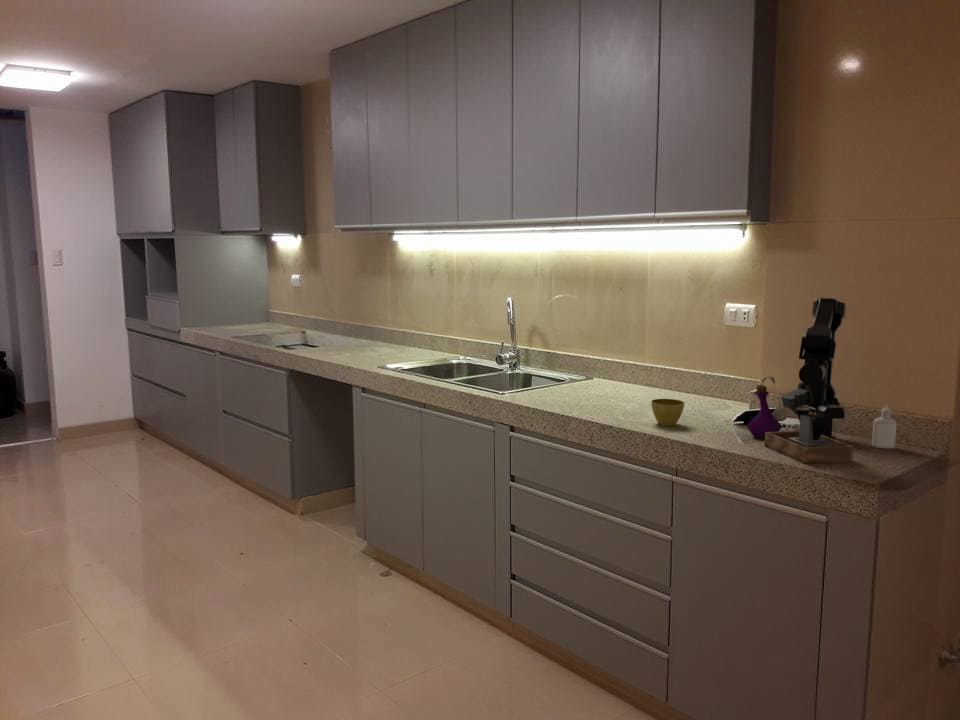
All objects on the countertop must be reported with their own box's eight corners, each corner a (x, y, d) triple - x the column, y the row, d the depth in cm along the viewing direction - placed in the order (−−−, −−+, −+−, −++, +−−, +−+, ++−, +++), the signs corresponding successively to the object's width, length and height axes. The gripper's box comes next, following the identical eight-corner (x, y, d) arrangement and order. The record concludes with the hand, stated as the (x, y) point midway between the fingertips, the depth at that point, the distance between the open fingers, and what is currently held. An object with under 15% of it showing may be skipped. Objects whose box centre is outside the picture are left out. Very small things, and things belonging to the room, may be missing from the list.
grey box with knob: (798, 443, 208) (800, 411, 207) (811, 443, 209) (814, 410, 208) (807, 447, 204) (810, 414, 203) (821, 447, 205) (823, 413, 204)
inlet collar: (787, 448, 210) (787, 437, 209) (813, 447, 212) (814, 436, 211) (805, 456, 202) (806, 445, 202) (832, 455, 204) (833, 443, 203)
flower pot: (660, 428, 235) (661, 405, 234) (644, 421, 245) (645, 399, 244) (689, 427, 238) (690, 404, 237) (673, 420, 247) (674, 398, 246)
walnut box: (764, 446, 215) (765, 432, 215) (809, 444, 218) (810, 430, 218) (804, 463, 198) (805, 448, 197) (852, 461, 201) (853, 446, 200)
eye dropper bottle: (891, 450, 213) (895, 407, 211) (869, 446, 216) (873, 404, 215) (896, 447, 216) (900, 405, 214) (874, 444, 220) (878, 402, 218)
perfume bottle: (745, 436, 226) (749, 376, 224) (757, 432, 231) (761, 373, 229) (770, 441, 221) (774, 379, 218) (781, 437, 226) (786, 376, 224)
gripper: (767, 375, 212) (763, 431, 214) (809, 387, 193) (804, 448, 196) (803, 374, 214) (799, 429, 216) (848, 386, 196) (843, 446, 198)
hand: (810, 438), depth 206 cm, fingers closed on grey box with knob, 4 cm apart
